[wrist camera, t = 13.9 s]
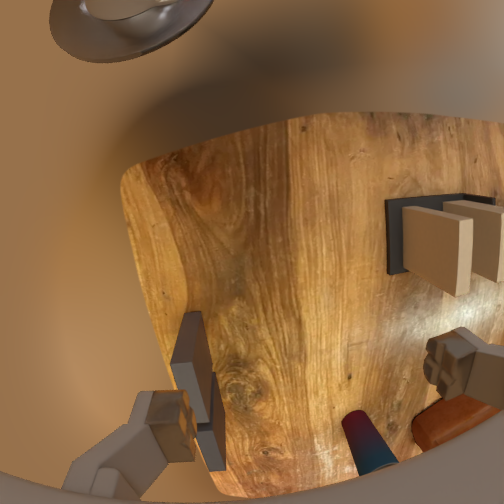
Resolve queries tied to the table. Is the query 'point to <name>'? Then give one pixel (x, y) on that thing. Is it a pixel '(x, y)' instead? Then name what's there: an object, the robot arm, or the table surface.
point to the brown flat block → (438, 248)
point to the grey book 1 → (193, 365)
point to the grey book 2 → (213, 432)
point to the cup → (366, 444)
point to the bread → (449, 420)
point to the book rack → (468, 205)
